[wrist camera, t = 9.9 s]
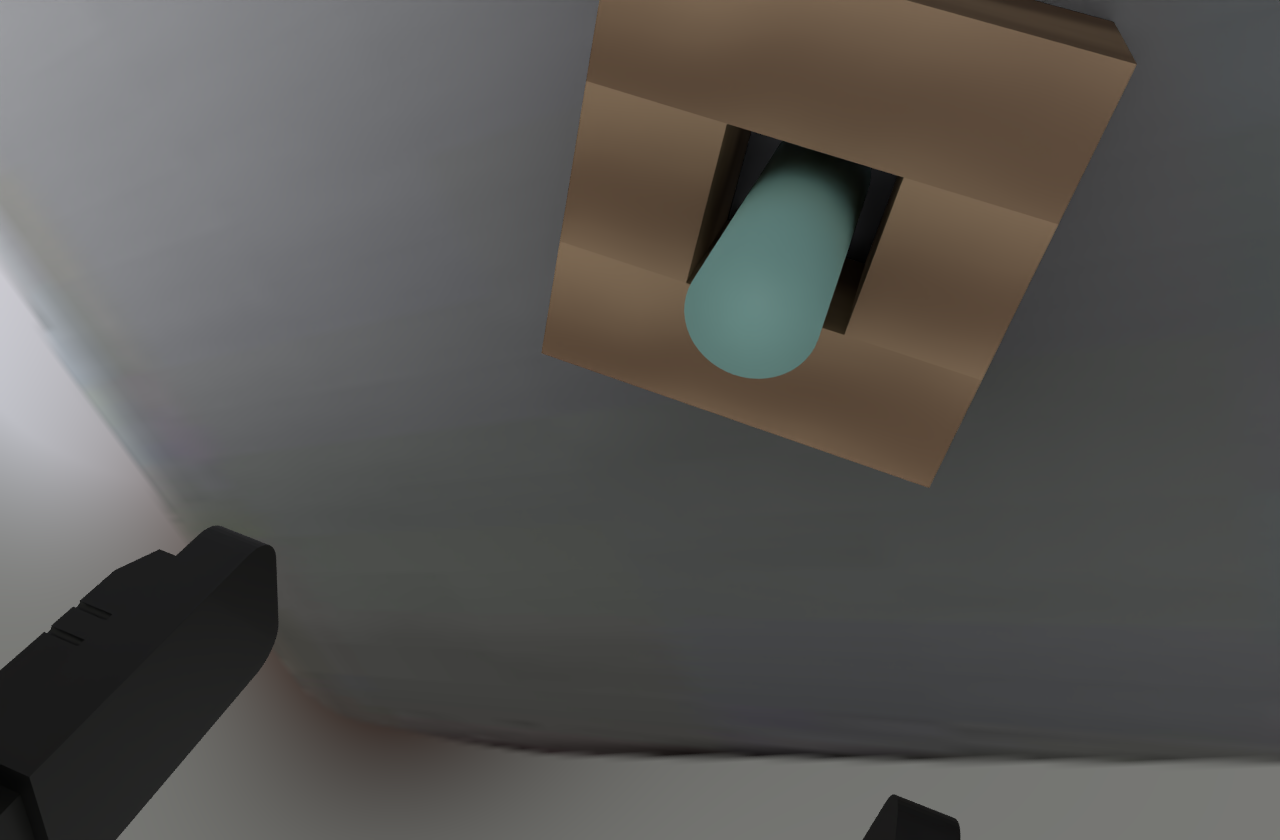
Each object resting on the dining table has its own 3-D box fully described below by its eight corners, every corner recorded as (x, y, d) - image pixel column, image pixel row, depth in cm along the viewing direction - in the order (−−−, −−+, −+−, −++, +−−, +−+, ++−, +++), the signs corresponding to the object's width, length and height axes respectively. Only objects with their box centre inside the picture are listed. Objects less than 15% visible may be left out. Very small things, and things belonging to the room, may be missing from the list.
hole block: (671, -99, 26) (613, -82, 22) (1113, 21, 25) (1136, 64, 21) (596, 286, 33) (541, 353, 29) (937, 400, 31) (929, 488, 27)
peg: (785, 112, 28) (702, 233, 20) (885, 141, 28) (840, 277, 20) (758, 206, 30) (670, 353, 22) (851, 235, 30) (797, 396, 21)
